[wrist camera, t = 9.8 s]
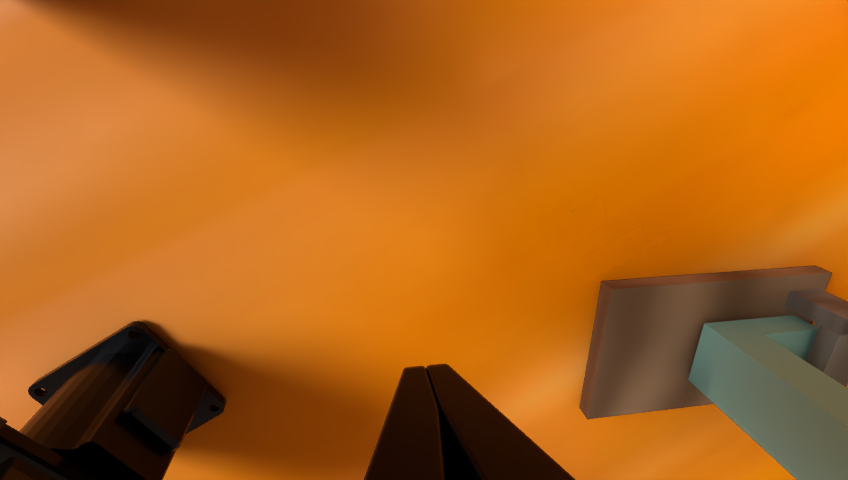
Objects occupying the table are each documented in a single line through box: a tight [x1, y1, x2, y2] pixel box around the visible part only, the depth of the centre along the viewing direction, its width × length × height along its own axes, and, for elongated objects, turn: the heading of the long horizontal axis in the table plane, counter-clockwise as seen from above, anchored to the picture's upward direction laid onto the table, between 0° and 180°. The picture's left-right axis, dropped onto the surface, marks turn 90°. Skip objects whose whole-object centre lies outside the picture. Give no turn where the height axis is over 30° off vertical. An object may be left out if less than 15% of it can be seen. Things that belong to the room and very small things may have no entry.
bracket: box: [579, 266, 848, 419], centre depth 25 cm, size 14×9×4 cm, turn 90°
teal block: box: [688, 315, 848, 480], centre depth 22 cm, size 9×4×9 cm, turn 90°
